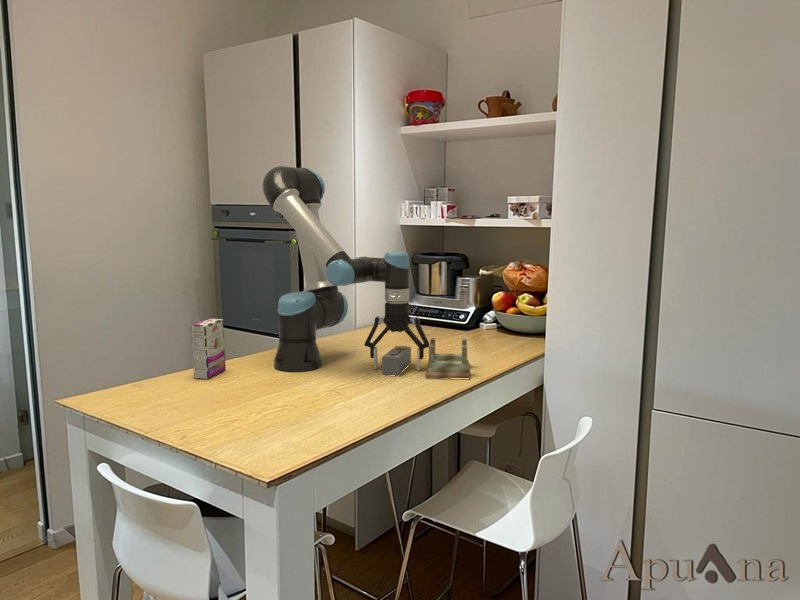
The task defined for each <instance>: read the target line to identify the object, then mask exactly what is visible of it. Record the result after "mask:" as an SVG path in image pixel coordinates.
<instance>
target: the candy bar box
mask: <svg viewBox="0 0 800 600" xmlns="http://www.w3.org/2000/svg"><path fill="white" fill-rule="evenodd" d="M190 327H191V328H190V329H191V343H192V345H191V346H192V347H191V348H192V360H193V378H194V379H195V378H198V379H197V380H210V379H212V378H214V377H216V376H218V375H220V374H221V373H223V372H225V371H226V370H227V369H226V354H225V353H226V351H225V335H224V334H225V333H224V319H223V318H221V319H220V318H209V319H205V320H203V321H200V322H197V323H194V324H191V325H190ZM217 374H218V375H217ZM215 375H216V376H215ZM213 376H214V377H213ZM199 378H200V379H199Z"/></svg>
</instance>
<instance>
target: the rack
mask: <svg viewBox="0 0 800 600" xmlns="http://www.w3.org/2000/svg"><path fill="white" fill-rule="evenodd" d="M467 340H468V339H467V338H462V339H461V353H440V352H439V353H437V352H436V337H430V341H429V347H428V360H427V365H426V370H425V376H424V379H425V378H469V379H470V365H469V359H468V345H467V343H468V341H467Z"/></svg>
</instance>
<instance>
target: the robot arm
mask: <svg viewBox="0 0 800 600" xmlns="http://www.w3.org/2000/svg"><path fill="white" fill-rule="evenodd" d="M325 191H326V187H325V182H324V179H323V178H322V176H321V175H320V174H319V173H318V172H317V171H315V170H314V169H310V168H306V167H292V166H283V165H282V166H281V165H280V166H276V167H273V168H271V169H270V170H269V171H267V172H266V174H265V176H264V178H263V181H262V192H263V194H264V197H265V200H266V201H267V203H268V204H269V206H270V207H271V208H272V209H273V210H274V211H275V212H276V213H280V214H281V215H282V216H283V218H284V219H285V220H286V221H287V222H288V223H289V225H290V227H292V228H293V229H294V230H295V233H296V240H297V244H298V250H299V254H300V259H301V265H302V268H303V269H302V270H303V275H304V281H305V284H306V285H305V288H304V289H303V291H296V292H294V291H293V292H289V293H286V294H283V295H282V296H280V297H279V300H278V307H277V314H278V315H277V316H278V317H277V319H278V320H277V321H278V345H277V350H276V352H275V357H274V360H273V366H274V369H275V370H278V371H282V372H308V371H309V372H310V371H313V370H317V369H319V368H321V367H322V366H323V365H322V364H323V363H322V361H323V359H322V355H321V352H320V349H319V347H318V344H317V330H322V329H325V328H326V329H327V328H332V327H334V326H336V325H339V324H340V323H342V322H343V321H344V320H345V318H346V317H347V314H348V312H349V311H348V310H349V303H348V300H347V298H346V296H345V295H343V293H342V292H341V291H339V288H338V287H339V286H340V287H342V286H343V287H346V286H348V285H349V286H350V285H355V284H360V283H362V284H363V283H368V282H376V283H377V282H378V283H379V282H381V283H384V300H385V303H384V317H380V316H376V317H375V318H374V323H373V326H372V328H371V330H370V332H369V334H368V336H367V338H366V340H365V342H364V344H363V345H364V347H368V348H369V354H370V355H369V356H370V359H373V370H377V369H376V368H378V347H377V344H378V343H379V342H380V341H381V340H382V339H383V337H385V335H386V334H387V333H388V332H389V331H390V332H392V333H395V332H398V333H402V332H405V333H406V334H407V335H408V336H409V338H410V339H411V340H412V342H413V343H414V344H415V345H416V346H417V350H416V371H421V360H423V359H424V355H425V352H424V351H425V349H426V348H428V349H429V345H430V341H429V340H428V337H427V336H426V334H425V332H424V329H423V327H422V325H421V324H420V318H419V316H416V317H410V303H409V301H410V266H411V265H410V257H409V254H408V253H407V252H406V251H387V252H385V253H384V257H373V256H372V257H370V256H357V257H354V258H351V257H350V256H349V254H347V252H346V251H345V250H344V249H343V248H342V246H341V245H340V244H339V243H338V241H336V239H335V238H334V237H333V235H332V234H331V233H330V232H329V231H328V229H326V227H325V226H324V225H323V224H322V222H321V220H320V219H321V218H320V214H319V210H320V208H321V207H322V201H321V200H322V199H323V198H324V194H325ZM382 322H383V324H384V326H385V328H383V330H382V331H381V332H380V333H379V334H378V336H377V337H376V338H375V339H374V340H373V342H371V341H372V339H373V336H374V335H375V334H376V333H375V332H376V331H377V329H378V327H379V325H381V324H382ZM410 323H412V325H413V326H415V328H416V331H417V332H418V335H419V336H420V338H421V340H420V339H419V338H418V337H417V336H416V334H415V333H414V332H413V330H412V329H411V328H410V327H409V325H410ZM421 341H422V342H421Z"/></svg>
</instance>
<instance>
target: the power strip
mask: <svg viewBox="0 0 800 600" xmlns="http://www.w3.org/2000/svg"><path fill="white" fill-rule="evenodd" d="M410 363H411V364H412V347H411V346H407V345H401V344H399V345H395V346H394V347H393V348H391V349H390V350H389V351H387V352H386V353H385V354H384V355H383V356H381V375H395V376H394V377H396V376H398V375H399V374H400V373H401V372H402V371H403V370H404V369H405V368H406V367H407V366H408V365H409V364H410ZM405 370H406V369H405ZM405 370H404V371H405ZM404 371H403V372H404ZM403 372H402V373H403ZM402 373H401V374H402ZM401 374H400V375H401ZM400 375H399V376H400ZM399 376H398V377H399Z"/></svg>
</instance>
